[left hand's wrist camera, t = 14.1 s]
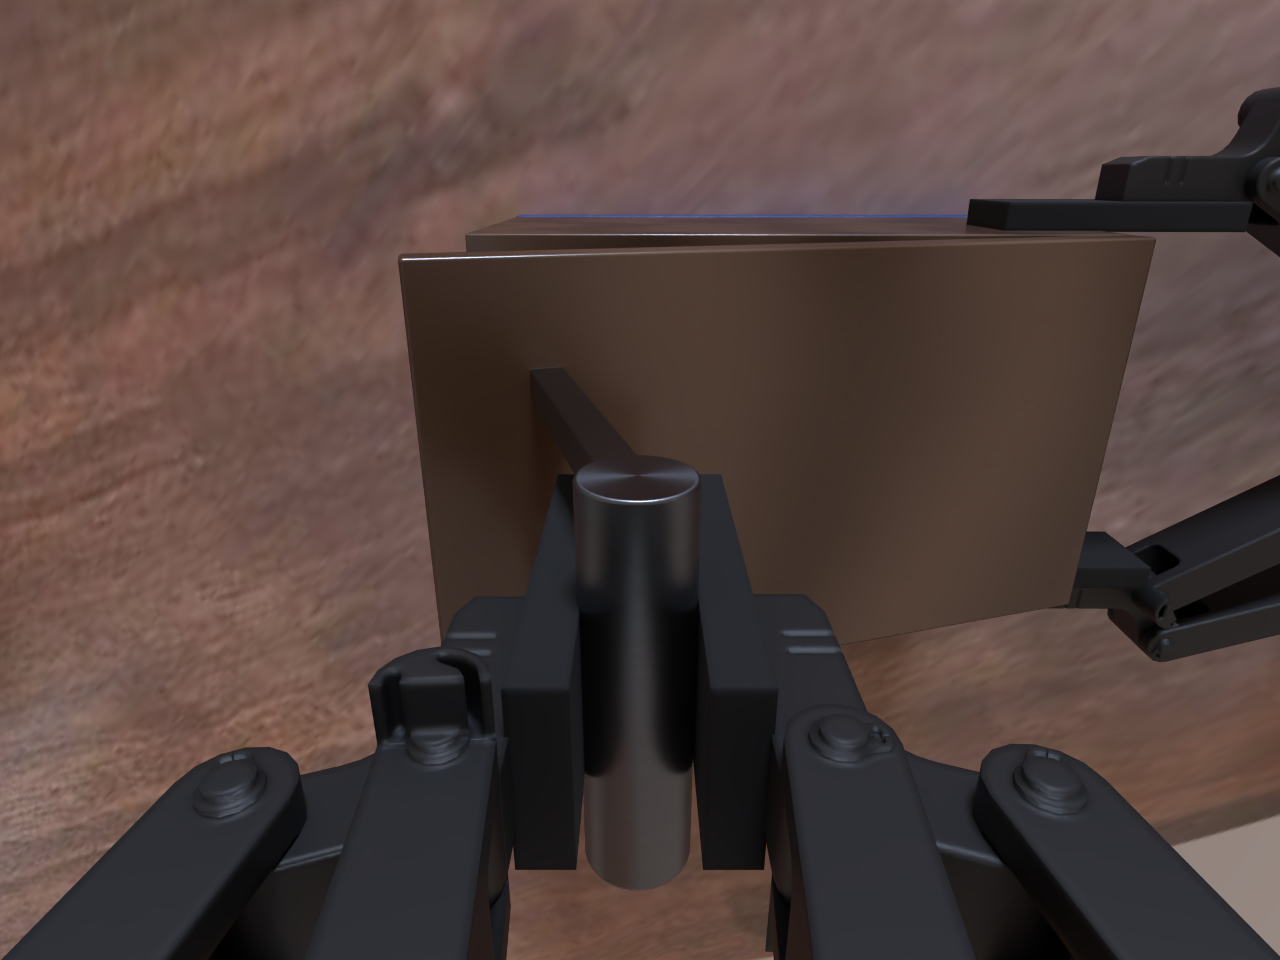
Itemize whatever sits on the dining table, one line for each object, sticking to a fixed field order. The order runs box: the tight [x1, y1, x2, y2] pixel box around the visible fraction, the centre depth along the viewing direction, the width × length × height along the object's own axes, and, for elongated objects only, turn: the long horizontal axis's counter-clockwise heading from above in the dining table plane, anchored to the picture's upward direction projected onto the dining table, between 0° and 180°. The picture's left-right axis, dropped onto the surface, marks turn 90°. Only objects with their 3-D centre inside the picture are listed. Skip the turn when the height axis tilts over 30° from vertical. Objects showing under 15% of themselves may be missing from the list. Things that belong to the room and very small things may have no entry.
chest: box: [465, 215, 1128, 252], centre depth 26 cm, size 17×10×9 cm, turn 90°
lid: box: [398, 235, 1156, 890], centre depth 15 cm, size 18×10×8 cm, turn 90°
